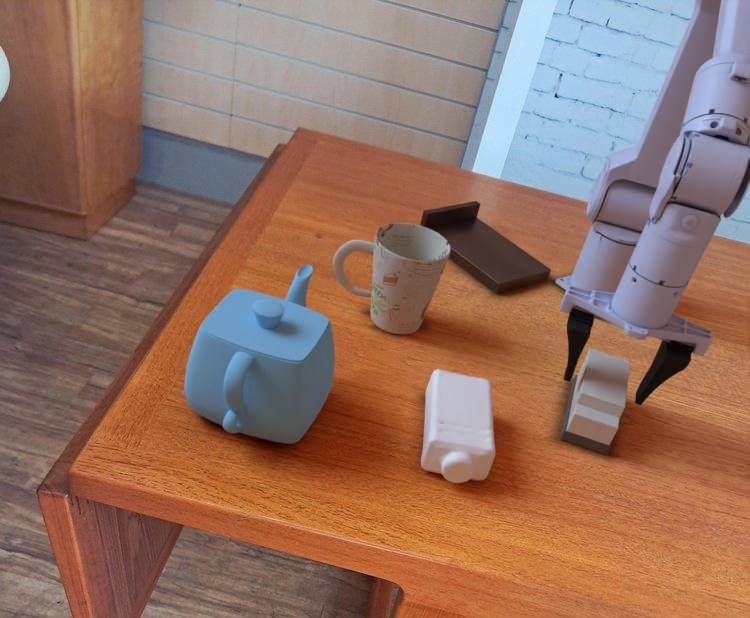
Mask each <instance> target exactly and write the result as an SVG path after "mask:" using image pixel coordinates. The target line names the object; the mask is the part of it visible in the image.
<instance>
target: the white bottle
mask: <svg viewBox="0 0 750 618" xmlns="http://www.w3.org/2000/svg"><path fill="white" fill-rule="evenodd" d="M424 394H425V405H424V420H423V421H424V422H423V437H422V438H423V440H422V442H423V443H422V449H421V451H422V452H421V457H420V466H421V468H422V469H423V470H424V471H426V472H431V473H436V474H441V475H442V476H443V478H444V479H445V480H447V481H448V482H450V483H453V484H461V483H462V484H463V483H465V482H468V481H470V480H472V481H483V480H486V478H487V477H488V475H489V473H490V471H491V468H492V465H493V462H494V460H495V457H496V445H495V432H494V429H495V428H494V411H493V410H494V409H493V392H492V382H491V380H489V379H487V378H483V377H477V376H474V375H473V376H472V375H467V374H463V373H457V372H453V371H450V370H449V371H448V370H444V369H442V368H441V369H439V368H437V369H434V371H432V373H431V375H430V378H429V381H428V384H427V386H426V389H425V393H424Z"/></svg>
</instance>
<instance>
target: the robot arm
mask: <svg viewBox="0 0 750 618" xmlns="http://www.w3.org/2000/svg"><path fill="white" fill-rule="evenodd" d="M639 138H640V139H639V140H638V143H637V144H636V145H634V146H631V147H629V148H626V149H623V150H619V151H616V152H614V153H611V154H610V155H609V157H608V158H606V159H605V163H604V165H603V167H602V169H601V171H600V172H599V174H598V175H597V178H596V180H595V183H594V184H593V188H592V189H591V193H590V197H589V200H588V202H587V206H586V212H585V215H586V217H587V220H588V221H589V222H591V226H590V228H589V231H588V234H587V236H586V238H585V241H584V244H583V246H582V248H581V251H580V254H579V256H578V258H577V261H576V264H575V266H574V269H573V271H572V274H570V275H566V276H563V277H559V278H556V279H555V284H556V285H557V286H559V287H560V288H562V289H563V290H564V291H565V293H564V294H563V297H562V299H561V303H560V306H559V311H560V312H562V313H565V314H568V317H567V321H566V336H567V347H568V348H567V351H568V353H567V365H566V368H565V371H564V374H563V381H566V382H569V383H570V382H571V380H572V378H573V376H574V374H575V371H576V367H577V364H578V362H579V359H580V357H581V355H582V353H583V351H584V349H585V347H586V345H587V342H588V340H589V339H590V337H591V332H592V329H593V326H594V321H595V320H598V321H601V322H605V323H608V324H610V325H614V326H615V327H617V328H619V329H622V330H623V333H624V335H626V336H628V337H631V338H634V339H637V340H640V341H644V340H646V339H647V338H648V337H649V338H654V339H656V340H657V339H658V340H661V343H660V345H659V347H658V350H657V352H656V354H655V356H654V358H653V359H652V362H651V364H650V366H649V368H648V370H647V371H646V373H645V375H644V376H643V378H642V379H641V381H640V383H639V385H638V387H637V390H636V391H635V396H634V404H635V405H638V406H642V405H643V404H644V402H645V401H646V400H647V399H648V398H649V397H650V396H651V394H652V393H653V392H654V391H655V390H657V389H658V388H659V387H660V386H661V385H663V384H664V383H665V382H666V381H668V380H669V379H671V378H672V377H673V376H675V375H677V374H679V373H681V372H683V371H684V370H685V369H686V368H687V367H688V366H689V365H690V363H691V361H692V354H694V355H696V356H700V357H704V356H705V354H706V353H707V351H708V349H709V347H710V346H711V344H712V342H713V330H711V329H708V328H705V327H703V326H702V325H701V326H700V325H699V324H696V323H694V322H692V321H690V320H687V319H686V318H684V317H682V316H680V315H678V314H676V313H675V310H676V308H677V306H678V304H679V302H680V300H681V298H682V296H683V294H684V292H685V291H686V288H687V287H688V285H689V283H690V281H691V279H692V277H693V276H694V273H695V272H696V269H697V267H698V265H699V263H700V262H701V260H702V258H703V256H704V254H705V252H706V251H707V248H708V246H709V244H710V242H711V240H712V239H713V236H714V235H715V233H716V231H717V228H718V227H719V225H720V223H721V222H722V221H721V220H722V217H721V216H722V215H723V217H724V218H727V219H728V218H731V216H733V215H734V213H735V212H736V211H737V210H738V208H739V207H740V205H741V204H742V202H743V200H744V198H745V196H746V195H747V192H748V190H749V188H750V0H694V8H693V12H692V14H691V17H690V18H689V21H688V24H687V26H686V29H685V31H684V33H683V36H682V38H681V40H680V42H679V45H678V47H677V50H676V52H675V54H674V57H673V59H672V61H671V64H670V66H669V68H668V71H667V74H666V77H665V78H664V81H663V83H662V85H661V88H660V90H659V93H658V95H657V98H656V100H655V102H654V105H653V107H652V109H651V112H650V114H649V117H648V118H647V121H646V124H645V126H644V128H643V131H642V133H641V135H640V137H639Z"/></svg>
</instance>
